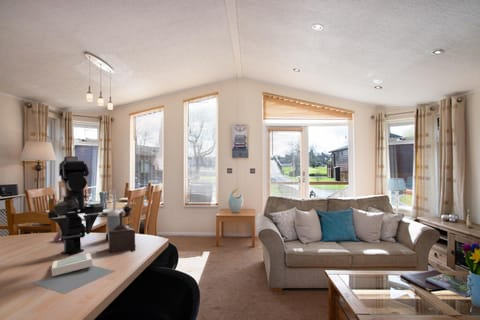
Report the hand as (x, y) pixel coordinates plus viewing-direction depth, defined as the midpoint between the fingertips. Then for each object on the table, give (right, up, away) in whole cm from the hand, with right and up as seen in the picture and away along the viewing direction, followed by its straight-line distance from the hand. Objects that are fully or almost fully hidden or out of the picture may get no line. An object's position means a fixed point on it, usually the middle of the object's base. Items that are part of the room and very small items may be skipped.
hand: (76, 235), depth 102 cm
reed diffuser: (-3, -12, +37) cm, 39 cm away
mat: (+6, -12, -10) cm, 17 cm away
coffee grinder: (+7, -12, +22) cm, 27 cm away
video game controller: (-26, -13, +35) cm, 45 cm away
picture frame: (+3, -9, -7) cm, 12 cm away
